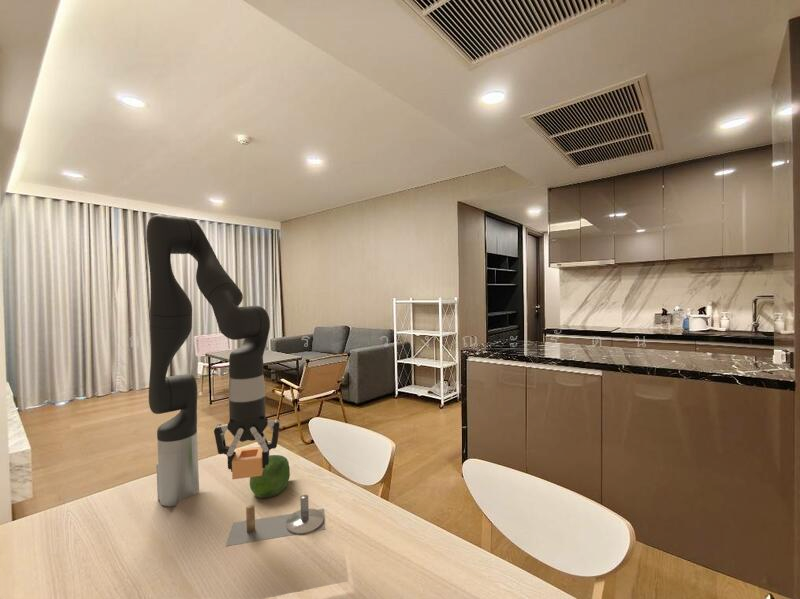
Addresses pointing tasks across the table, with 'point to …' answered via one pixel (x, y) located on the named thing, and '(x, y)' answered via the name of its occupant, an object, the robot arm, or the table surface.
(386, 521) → the table surface
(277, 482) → the fruit
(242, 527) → the board
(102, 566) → the table surface
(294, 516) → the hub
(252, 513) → the stand rod
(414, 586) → the table surface
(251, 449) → the collar
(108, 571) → the table surface
